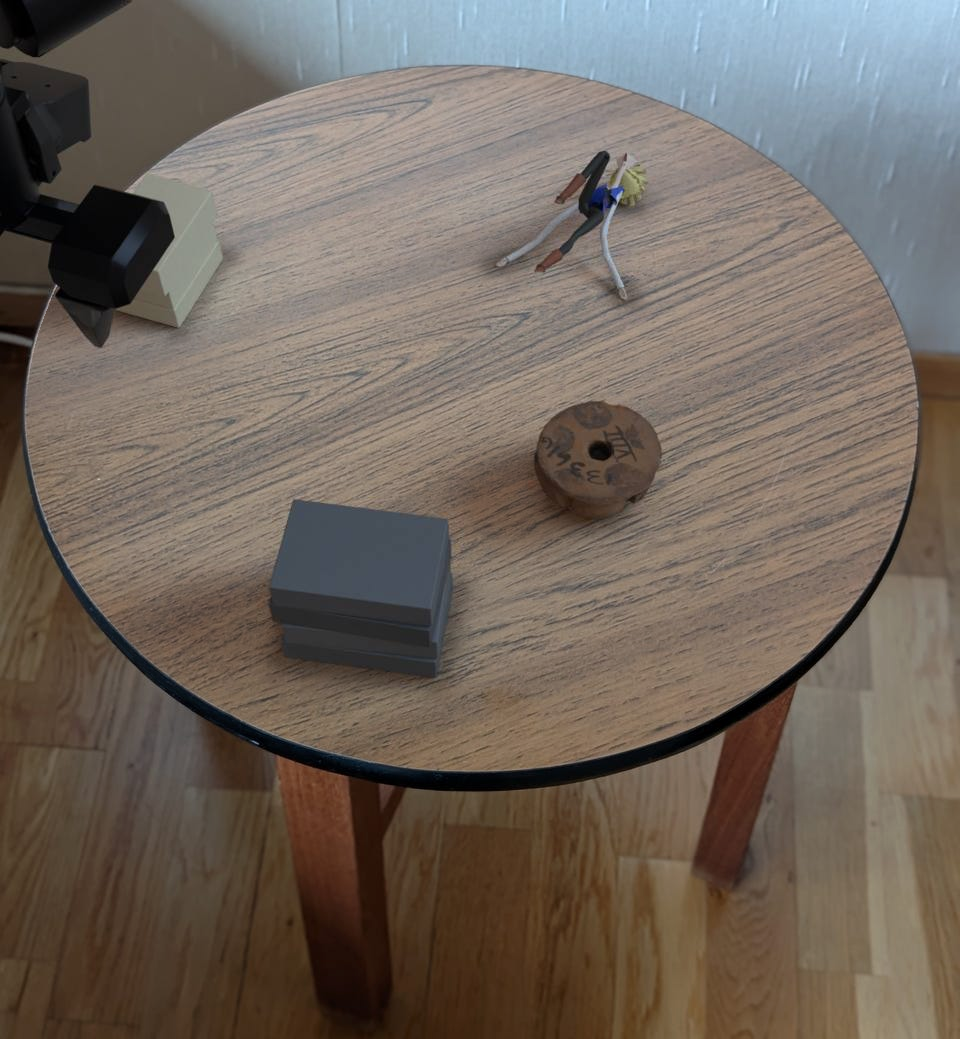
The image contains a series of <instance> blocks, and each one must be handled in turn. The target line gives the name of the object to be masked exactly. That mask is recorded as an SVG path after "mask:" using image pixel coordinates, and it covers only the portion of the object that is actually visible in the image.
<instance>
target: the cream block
mask: <svg viewBox="0 0 960 1039" xmlns="http://www.w3.org/2000/svg"><path fill="white" fill-rule="evenodd" d="M132 194H136V195H140V196H143V197H147V198H151V199H155V200H159V201H162V202H164V203H165V206H166V208H167V210H168V212H169V215H170V219H171V223H172V227H173V231H174V235H175V238H174V240H173V241H172V243H171V244H170V246H169V247H168V249H167V250H166V252H165V253H164V255H163V256H162V258H161V259H160V261H159V262H158V264H157V265H156V266H155V268H154V269H153V271H152V272H151V274H150V275H149V277H148V278H147V280H146V281H145V283H144V284H143V286H142V287H141V289H140V290H144V291H147V292H151V293H154V294H158V295H161V296H166V295H167V293H168V292H169V290H170V289H171V287H172V286H173V284H174V283H175V281H176V279H177V278H178V276H179V275H180V273H181V272H182V270H183V269H184V267H185V266H186V264H187V263H188V261H189V260H190V258H191V257H192V255H193V253H194V252H195V250H196V249H197V247H198V246H199V244H200V243H201V241H202V240H203V238H204V237H205V235H206V234H207V232H208V231H209V229H210V227H211V226H212V224H214V223H215V221H216V220H217V219H218V217H219V215H218V209H217V204H216V201H215V197H214V191H213V190H212V189H209V188H205V187H201V186H197V185H193V184H189V183H185V182H182V181H178V180H174V179H171V178H166V177H163V176H159V175H154V174H152V173H146V174H145V176H144V177H142V179H141V181H140V182H139V184H138V185H137V186H136V188H135V189H134V191H133V192H132Z"/></svg>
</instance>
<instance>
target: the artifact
mask: <svg viewBox="0 0 960 1039" xmlns="http://www.w3.org/2000/svg"><path fill="white" fill-rule="evenodd" d="M662 456H663V450H662V444H661V442H660V439H659V436H658V434H657V431H656V430H655V428H654V427H653V425H652V423H651V422H649V420H647V419H646V418H645V417H644V416H642V415H641V414H640V413H639V412H638V411H635V410H633V409H632V408H630V407H628V406H625V405H621V404H611V403H609V402H606V401H604V400H590V401H585V402H580V403H578V404H573V405H571V406H569V407H566V408H564V409H562V410H561V411H559V412H558V413H556V414H555V415H554V416H553V417H551V419H550V420H549V421H548V422H546V424H545V425H544V426H543V428H542V430H541V431H540V434H539V436H538V441H537V443H536V449H535V452H534V455H533V466H534V473H535V475H536V478H537V481H538V483H539V485H540V488H541V489H542V491H543V493H544V495H545V496H546V497H547V498H548V499H549V500H550V501H552V502H553V503H555V504H557V505H558V506H561V507H565V508H566V509H569V510H570V511H571V512H572V513H573V514H577V515H578V516H580V517H583V518H587V519H589V520H594V521H595V520H605V519H606V518H608V517H611V516H614V515H615V514H618V513H619V512H620V511H621V510H622V509H623V508H624V507H625V506H626V504H627V503H628V502H630V503H632V504H635V503H638V502H640V501H641V500H643V499H644V497H646V496H647V493H648V491H649V489H650V488H651V486H652V483H653V481H654V480H655V476H656V473H657V471H658V470H659V468H660V466H661V463H662Z"/></svg>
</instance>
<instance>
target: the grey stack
mask: <svg viewBox="0 0 960 1039" xmlns="http://www.w3.org/2000/svg"><path fill="white" fill-rule="evenodd" d="M280 542H281V543H280V545H279V549H278V553H277V557H276V560H275V563H274V567H273V570H272V574H271V578H270V581H269V586H268V588H269V589H268V590H269V593H270V598H269V601H268V607H269V611H270V615H271V618H272V622H274V623H278V624H279V623H280V624H281V630H282V635H281V638H280V644H281V647H282V652H283V656H284V657H285V658H287V659H294V660H295V659H297V660H303V661H310V662H317V663H325V664H333V665H339V666H346V667H353V668H354V667H355V668H362V669H368V670H375V671H383V672H388V673H389V672H391V673H397V674H403V675H405V674H406V675H412V676H419V677H424V678H425V677H426V678H433V679H437V677H438V671H439V668H440V667H439V666H440V661H441V656H442V651H443V645H444V641H445V634H446V630H447V624H448V619H449V613H450V608H451V603H452V598H453V592H454V578H453V575H454V574H453V573H452V566H451V563H452V557H453V556H452V539H451V538H450V522H449V518H445V517H444V518H443V517H436V516H428V515H421V514H412V513H406V512H397V511H390V510H383V509H375V508H367V507H358V506H351V505H345V504H344V505H343V504H334V503H329V502H328V503H327V502H320V501H312V500H306V499H305V500H303V499H296V498H293V499H292V501H291V506H290V510H289V513H288V517H287V521H286V524H285V527H284V531H283V535H282V539H281V541H280Z"/></svg>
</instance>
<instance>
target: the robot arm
mask: <svg viewBox="0 0 960 1039" xmlns="http://www.w3.org/2000/svg"><path fill="white" fill-rule="evenodd" d="M132 1H133V0H0V48H2V49H6V50H9V49H11V48H13V47H14V48H16V49H17V50H18V51H20V52H21V53H23V55H25V56H29V57H31V58H42V56H43V57H44V55H46V54H48V53H50V52H51V51H53V50H54V49H56V48H58V47H59V46H61V45H63V44H64V43H66V42H68V41H69V40H71V39H73V38H74V37H77V36H78V35H79V34H82V33H83V32H85V31H86V30H87V29H90V28H91V27H92V26H94V25H97V24H98V23H100V22H102V21H103V20H105V19H106V18H107V17H110V16H111V15H113V14H115V13H116V12H118V11H120V10H121V9H123V8H124V7H126V6H128V5H129V4H130V3H132ZM90 103H91V102H90V84H89V79H88V78H87V77H86V76H84V75H81V74H77V73H74V72H69V71H65V70H62V69H57V68H53V67H49V66H45V65H41V64H37V63H33V62H27V61H12V60H9V59H4V58H0V237H1V236H2V235H3V234H4V233H5V232H7V233H11V234H14V235H19V236H22V237H26V238H29V239H34V240H37V241H40V242H44V243H48V244H51V246H50V250H49V257H48V263H47V269H48V272H49V275H50V277H51V280H52V283H54V284H55V285H56V286H57V287H59V288H58V290H57V291H56V292H55V294H54V297H55V299H56V300H57V301H58V303H59V305H61V307H62V308H63V310H64V311H65V312H66V313H67V314H68V316H69V317H70V319H71V320H72V321H73V322H74V324H75V325H76V327H77V328H78V329H79V331H80V332H81V333H82V334H83V336H84V337H85V338H86V339H87V341H89V343H91V345H93V346H94V347H95V348H99V349H101V348H103V347H104V345H105V344H106V342H107V341H108V339H109V337H110V335H111V329H112V325H113V319H114V314H115V309H117V308H120V307H123V306H126V305H129V304H131V302H132V301H133V299H134V298H135V296H136V295H137V293H138V292H139V290H140V289H141V287H142V286H143V284H144V283H145V281H146V280H147V278H148V277H149V275H150V274H151V272H152V271H153V269H154V268H155V266H156V265H157V264H158V262H159V261H160V259H161V258H162V256H163V255H164V253H165V252H166V250H167V249H168V247H169V246H170V244H171V243H172V241H173V240H174V238H175V235H174V231H173V227H172V223H171V219H170V215H169V212H168V210H167V208H166V206H165V203H164V202H162V201H159V200H155V199H151V198H147V197H143V196H140V195H136V194H133V192H128V191H124V190H120V189H116V188H113V187H110V186H109V187H108V186H105V185H100V184H99V185H98V184H93V185H92V187H91V189H90V190H89V191H88V192H87V194H86V195H85V196H84V198H83V199H82V201H81V202H80V203H75V202H72V201H68V200H64V199H61V198H57V197H53V196H49V195H46V194H42V193H41V192H40V190H39V187H40V186H41V185H42V184H43V183H45V184H49V185H51V184H52V183H53V182H54V180H55V179H56V178H57V177H58V176H59V174H60V172H61V171H62V166H61V163H60V159H59V156H58V155H59V154H61V153H63V152H65V151H66V150H67V149H69V148H71V147H72V146H74V145H76V144H78V143H80V142H82V143H85V142H87V141H89V140H90V139H91V138H92V125H91V104H90Z"/></svg>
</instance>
